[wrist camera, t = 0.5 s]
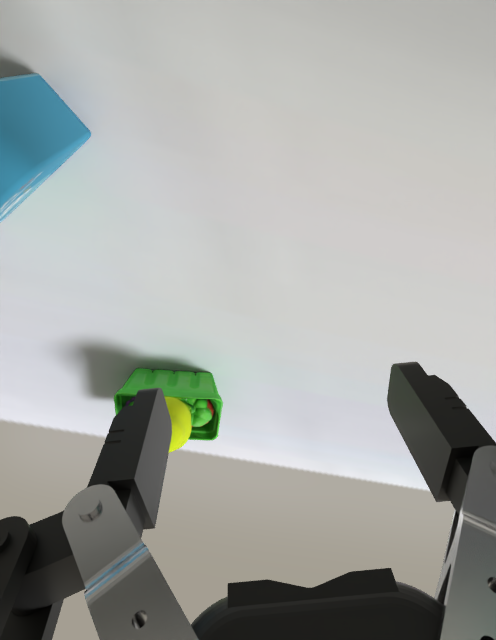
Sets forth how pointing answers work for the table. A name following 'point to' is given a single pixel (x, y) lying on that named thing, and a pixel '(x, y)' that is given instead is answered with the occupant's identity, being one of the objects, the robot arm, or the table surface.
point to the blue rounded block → (33, 137)
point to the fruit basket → (179, 401)
